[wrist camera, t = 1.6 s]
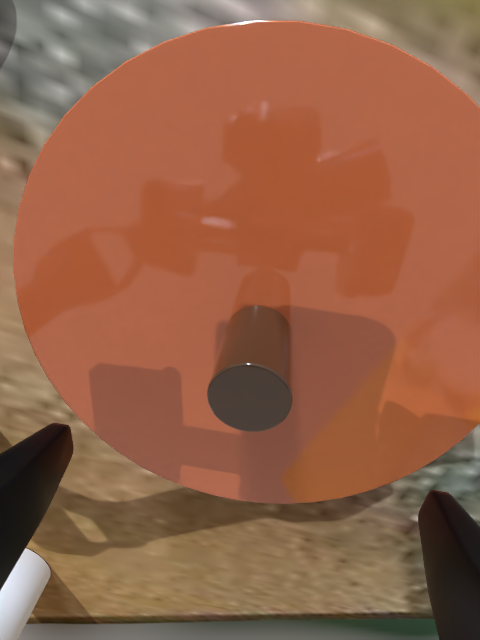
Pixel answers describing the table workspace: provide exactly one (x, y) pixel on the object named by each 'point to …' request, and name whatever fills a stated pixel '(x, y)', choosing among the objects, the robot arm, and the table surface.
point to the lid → (262, 261)
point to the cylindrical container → (21, 593)
